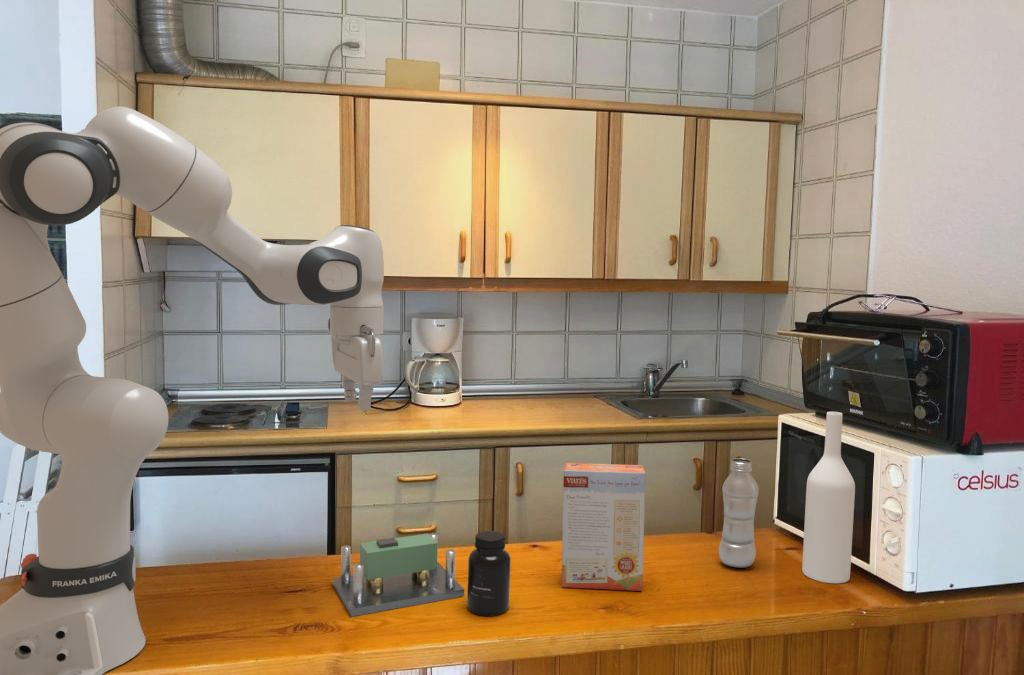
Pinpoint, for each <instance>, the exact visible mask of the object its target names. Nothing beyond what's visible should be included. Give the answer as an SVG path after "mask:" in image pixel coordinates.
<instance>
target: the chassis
mask: <svg viewBox="0 0 1024 675" xmlns="http://www.w3.org/2000/svg"><path fill="white" fill-rule="evenodd" d="M428 534H429V535H430V536H431V537H432V538H433V539H434V540H435V541H436V542H437V569H433V570H427V571H421V572H414V573H408V574H402V575H396V576H390V577H384V578H377V579H371V580H367V579H366V577H365V576H364V565H363V564H361V563H360V562H359V563H357V562H356V563H354V564H353V565H351V564H352V559H351V558H352V555H351V553H352V551H351V550H352V549H351V548H352V546H351V545H347V544H346V545H342V546H341V547H340V576H339V577H334V578H332V583H333V584H332V585H333V588H334V589H335V591H336V593H337V594H338V597H339V598H340V599H341V601H342V604H343V605H344V607H345V608H346V611H347V612H348V614H349V616H350V617H357V616H364V615H368V614H373V613H378V612H379V613H380V612H385V611H390V610H395V609H402V608H406V607H412V606H413V607H414V606H417V605H419V606H420V605H423V604H428V603H434V602H440V601H445V600H451V598H452V599H456V598H455V597H457V598H461V597H460V596H463V597H465V588H464V587H463V586H462V585H461V584H460V583H459V582H458V581H457V580H456V550H455V549H447V550H445V567H444V566H442V565H441V564H440V562H438V559H439V558H438V553H439V552H438V550H439V548H438V545H439V542H438V540H439V538H438V537H439V535H438V533H435V532H432V533H428ZM351 567H353V568H351ZM351 570H353V572H352V571H351ZM352 573H353V574H352Z"/></svg>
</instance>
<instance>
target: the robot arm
mask: <svg viewBox="0 0 1024 675" xmlns="http://www.w3.org/2000/svg"><path fill="white" fill-rule="evenodd" d="M232 187H233V186H232V183H231V178H230V176H229V175H228V174H227V172H226V171H224V170H223V168H222V167H221V166H220V165H219V163H217V162H216V161H215V159H213V158H212V157H210V156H209V155H208V154H207V153H205V152H204V151H202V150H201V149H200V148H199V147H197V146H196V145H194V144H193V143H192V142H190V141H189V140H188V139H186V138H184V137H183V136H182V135H180V134H179V133H177V132H175V131H174V130H173V129H171V128H169V127H168V126H166V125H164V124H163V123H161V122H159V121H157V120H155V119H153V118H151V117H149V116H147V115H146V114H143V113H141V112H139V111H137V110H135V109H133V108H131V107H129V106H128V107H127V106H111V107H109V108H106V109H104V110H102V111H100V112H99V113H97V114H96V115H95V116H94V117H92V118H91V119H90V120H89V122H88V123H87V124H86V126H85V128H83V129H81V130H80V131H78V132H75V133H74V132H73V133H69V132H66V131H62V130H60V129H58V128H56V127H53V126H50V125H47V124H43V123H38V122H34V121H29V120H14V121H9V122H4V123H2V124H0V434H2V435H3V436H4V437H5V438H7V439H8V440H11V442H14V443H16V444H18V445H20V446H22V447H25V448H27V449H30V450H32V451H36V452H41V453H42V452H44V453H50V454H56V455H60V457H61V468H60V471H59V472H60V473H59V476H58V479H57V482H56V484H55V486H54V488H52V489H51V490H49V491H48V492H47V493H46V494H44V495H43V497H42V498H40V500H39V503H38V504H37V508H36V524H37V546H38V547H37V548H38V550H37V551H38V554H35V553H29V554H26V555H25V556H24V558H22V562H21V563H20V567H21V572H20V582H21V584H20V585H21V589H20V590H18V591H17V592H16V593H14V594H13V595H12V596H11V597H9V598H8V599H7V600H6V601H4V602H3V603H1V604H0V675H103V674H105V673H106V672H108V671H110V670H112V669H114V668H117V667H119V666H121V665H123V664H125V663H126V662H128V661H130V660H131V659H133V658H134V657H136V656H137V655H138V654H139V653H141V651H142V650H143V648H144V647H145V645H146V641H147V638H146V636H145V634H144V631H143V629H142V626H141V622H140V619H139V615H138V610H137V605H136V599H135V593H134V587H135V582H136V574H137V573H136V555H135V549H134V546H133V545H132V544H131V498H132V490H133V487H134V483H135V480H136V477H137V474H138V471H139V470H140V467H141V465H142V464H143V463H144V461H145V459H146V458H148V456H149V455H151V454H152V453H153V452H154V451H155V450H157V448H158V447H159V446H160V445H161V443H162V442H163V440H164V439H165V436H166V433H167V432H168V427H169V421H170V420H169V410H168V406H167V404H166V401H165V399H164V398H163V397H162V395H161V394H160V393H159V392H158V391H156V390H154V389H152V388H150V387H148V386H145V385H142V384H140V383H138V382H134V381H132V380H129V379H126V378H115V377H108V376H107V377H103V376H93V375H91V374H89V373H88V372H87V371H86V370H85V369H84V367H83V365H82V363H81V360H80V356H79V349H78V346H80V345H81V343H82V341H83V339H85V336H86V333H87V322H86V320H85V318H84V316H83V314H82V312H81V310H80V307H79V305H78V303H77V302H76V300H75V296H73V294H72V292H71V289H70V287H69V285H68V284H67V280H65V277H64V275H63V272H62V271H61V269H60V267H59V266H58V263H57V262H56V259H55V258H54V256H53V254H52V251H51V248H50V245H49V242H48V230H49V229H48V228H49V226H66V225H71V224H74V223H76V222H79V221H81V220H84V218H86V217H88V216H89V215H91V214H92V213H93V212H94V211H96V209H98V208H99V207H100V206H101V205H102V204H104V203H105V202H106V201H108V200H110V199H111V198H112V197H113V196H115V195H117V196H119V197H121V198H123V199H125V200H127V201H128V202H130V203H131V204H133V205H134V206H136V207H138V208H140V209H141V210H142V211H144V212H146V213H147V214H148V215H150V216H152V217H154V218H155V219H157V220H159V221H161V222H163V223H164V224H165V225H167V226H170V227H171V228H173V229H174V230H177V231H179V232H181V233H183V234H184V235H186V236H187V237H189V238H190V239H193V240H194V241H195V242H197V244H199V245H201V246H202V247H203V248H205V249H206V250H207V251H209V252H210V253H211V254H214V256H215V257H218V258H219V259H220V260H221V261H223V262H225V263H226V264H227V265H229V266H231V268H232V269H234V270H236V271H237V272H238V273H239V274H240V275H241V276H242V278H243V279H244V280H245V282H246V283H247V284H248V286H249V287H250V288H251V290H252V292H253V293H254V294H255V295H256V296H257V297H258V298H259V299H260V300H262V301H263V302H265V303H267V304H269V305H274V306H276V305H277V306H281V305H282V306H283V305H300V306H325V305H329V310H330V311H329V312H330V313H329V318H328V320H327V329H328V331H329V333H330V335H331V337H330V338H331V340H330V341H331V352H332V353H331V354H332V364H333V367H334V370H335V372H337V373H339V374H340V375H341V380H342V385H343V390H344V393H343V394H344V397H343V398H344V399H345V401H348V402H356V400H357V408H358V409H359V410H360V411H369V410H371V407H372V406H371V404H372V403H371V402H372V401H371V400H372V397H373V393H374V386H380V385H381V386H382V383H383V380H384V364H383V362H384V359H383V358H384V357H383V347H382V345H383V344H382V341H381V340H380V338H379V337H377V336H380V335H383V334H384V327H385V326H384V324H385V323H384V322H385V321H384V318H385V317H384V313H385V311H384V309H385V308H384V307H385V306H384V300H383V297H382V295H383V294H382V290H383V289H382V288H383V284H384V279H385V278H384V273H385V272H384V271H385V268H384V266H385V265H384V252H383V245H382V241H381V238H380V236H379V234H378V233H376V232H375V231H374V230H372V229H370V228H368V227H363V226H357V225H349V224H343V225H338V226H335V227H334V229H333V231H331V232H330V233H328V234H327V235H325V236H324V237H321V238H320V239H317V240H316V241H313V242H310V243H308V244H292V245H291V244H290V245H288V244H281V243H280V244H278V243H274V242H268V241H266V240H263V239H262V238H260V236H258V235H257V234H256V233H254V232H253V231H251V229H249V228H248V227H246V226H245V225H244V224H242V223H241V222H240V221H238V220H237V219H236V218H235V217H233V216H232V215H231V214H230V212H229V211H228V210H229V208H230V205H231V203H232V198H233V188H232ZM356 384H358V390H359V393H358V398H357V390H356Z"/></svg>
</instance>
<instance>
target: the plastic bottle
mask: <svg viewBox="0 0 1024 675" xmlns="http://www.w3.org/2000/svg"><path fill="white" fill-rule="evenodd" d="M752 463H753V461H752V460H751V459H749V458H748V459H747V458H742V457H741V458H740V457H739V458H738V457H737V458H732V459H731V460H730V469H729V470H730V471H731V472H730V474H729V475H727V478H726V479H725V480H724V482H723V485H722V487H721V488H722V501H723V515H724V516H723V527H722V533H721V539H720V542H719V546H718V555H719V559H720V561H721V563H723V564H724V565H725V566H729V567H731V568H738V569H741V568H742V569H743V568H749V567H751V566H752V565H753V563H754V562H755V558H756V554H757V553H756V552H757V551H756V543H755V534H754V533H755V530H754V529H755V528H754V527H755V525H754V523H755V515H756V514H755V513H756V506H757V502H758V499H759V498H758V497H759V494H760V493H759V491H760V489H759V485H758V483H757V481H756V480H755V479H754V477H753V475H752V474H751V473H752V472H753V467H752V466H753V464H752Z"/></svg>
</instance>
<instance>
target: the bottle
mask: <svg viewBox="0 0 1024 675" xmlns="http://www.w3.org/2000/svg"><path fill="white" fill-rule="evenodd" d="M825 419H826V420H825V423H826V424H825V436H824V437H825V438H824V450H823V455H822V456H821V458H820V460H819V461H818V462H817V464H816V465H815V466H814V467H813V469H812V470H811V471H810V472H809V474H808V476H807V481H806V489H805V507H804V508H805V509H804V510H805V511H804V525H803V526H804V527H803V528H804V529H803V547H802V563H801V564H802V565H801V566H802V573H803V574H804V575H805V576H806V577H807V578H809V579H811V580H814V581H817V582H820V583H825V584H826V583H827V584H843V583H847V582H848V581H850V579H851V578H850V577H851V569H852V568H851V567H852V551H853V550H852V548H853V546H852V545H853V534H854V533H853V532H854V530H853V529H854V517H855V516H854V514H855V513H854V511H855V498H856V497H855V495H856V483H855V480H854V478H853V476H852V474H851V472H850V471H849V468H848V467H847V466H846V464H845V462H844V460H843V458H842V454H841V453H842V451H841V450H842V433H843V413H842V412H840V411H839V412H838V411H827V412H826V418H825Z"/></svg>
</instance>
